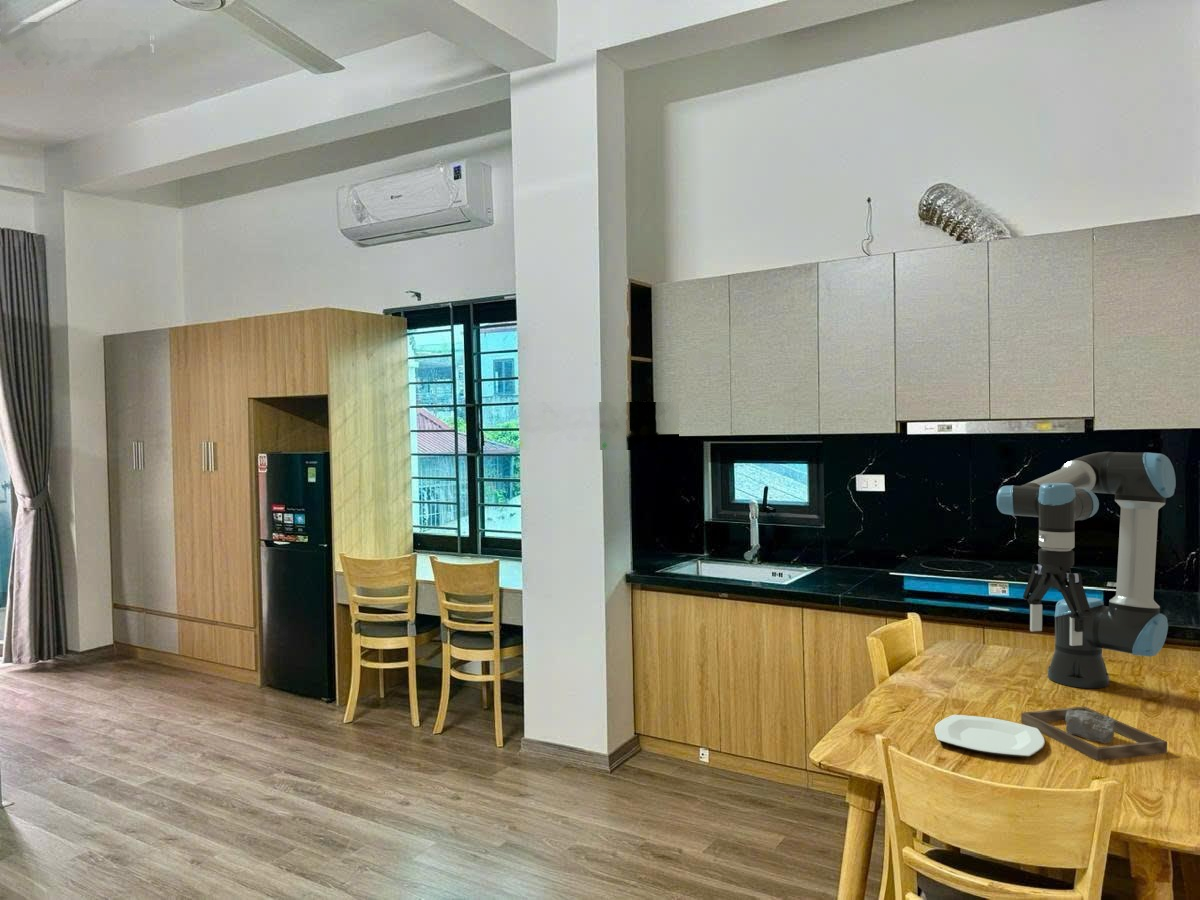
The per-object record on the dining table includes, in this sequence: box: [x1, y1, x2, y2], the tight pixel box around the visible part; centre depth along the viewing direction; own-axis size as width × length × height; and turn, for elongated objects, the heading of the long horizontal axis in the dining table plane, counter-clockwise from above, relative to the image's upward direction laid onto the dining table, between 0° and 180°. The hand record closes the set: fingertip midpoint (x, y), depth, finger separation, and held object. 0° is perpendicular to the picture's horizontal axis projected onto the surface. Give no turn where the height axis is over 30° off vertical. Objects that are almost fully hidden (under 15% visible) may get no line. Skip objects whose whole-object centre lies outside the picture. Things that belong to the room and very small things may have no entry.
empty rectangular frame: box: [1020, 706, 1168, 762], centre depth 201 cm, size 18×24×2 cm
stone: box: [1064, 710, 1115, 744], centre depth 201 cm, size 8×10×6 cm
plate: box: [934, 714, 1046, 758], centre depth 200 cm, size 23×23×2 cm
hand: (1055, 637), depth 204 cm, fingers open, 13 cm apart
